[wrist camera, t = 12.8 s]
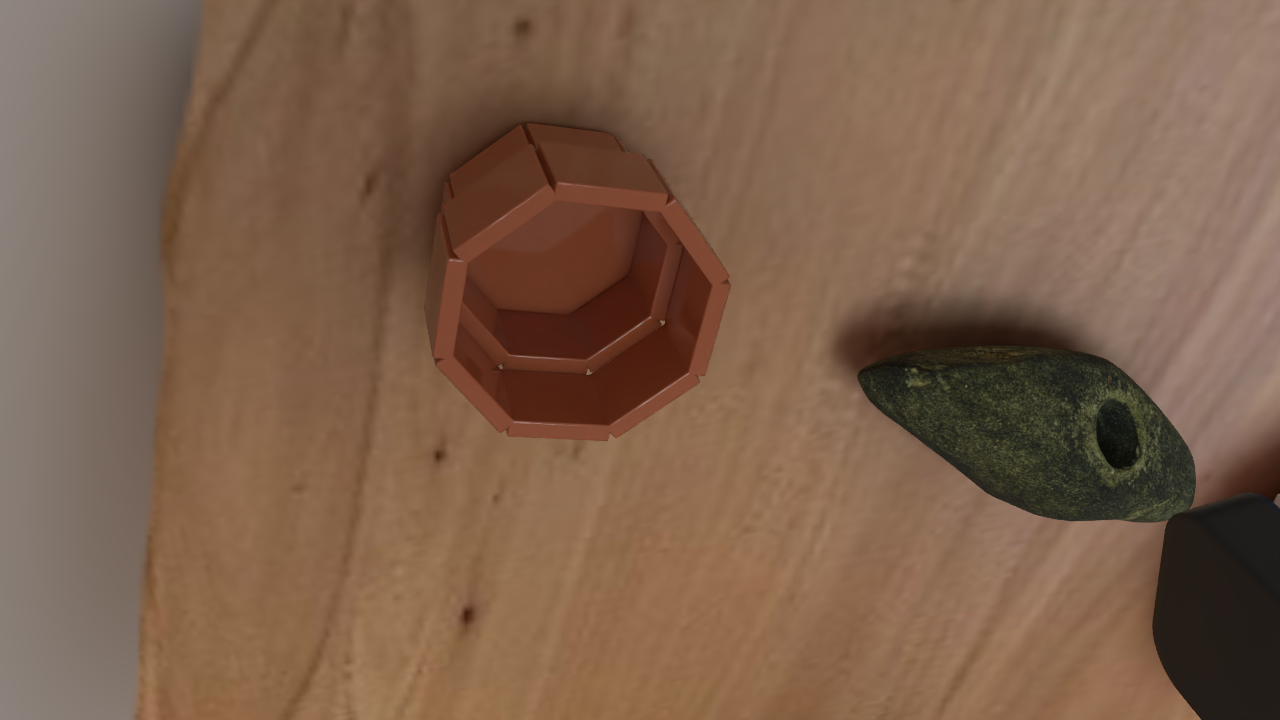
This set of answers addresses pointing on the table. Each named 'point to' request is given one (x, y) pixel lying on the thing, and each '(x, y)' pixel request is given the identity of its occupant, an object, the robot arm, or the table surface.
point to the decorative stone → (1041, 429)
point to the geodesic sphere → (1277, 500)
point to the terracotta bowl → (569, 286)
